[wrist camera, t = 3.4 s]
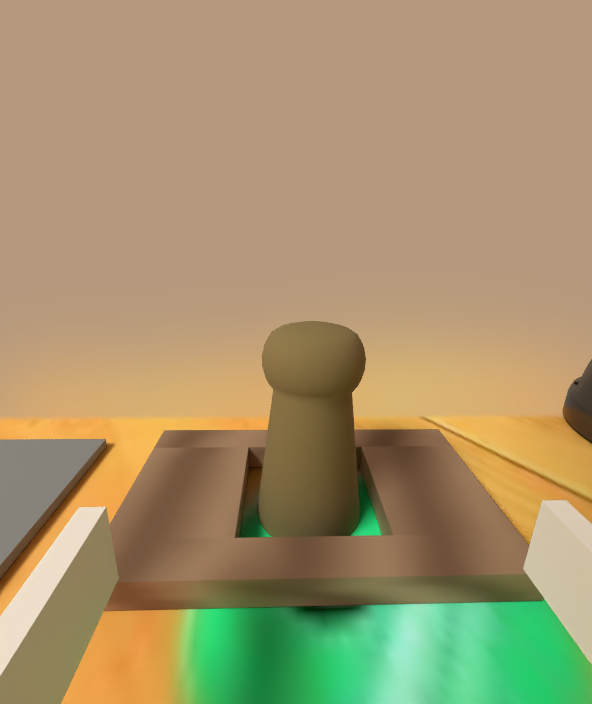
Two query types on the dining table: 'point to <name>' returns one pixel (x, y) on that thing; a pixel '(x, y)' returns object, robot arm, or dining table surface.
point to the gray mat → (37, 486)
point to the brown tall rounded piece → (311, 431)
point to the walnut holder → (312, 552)
